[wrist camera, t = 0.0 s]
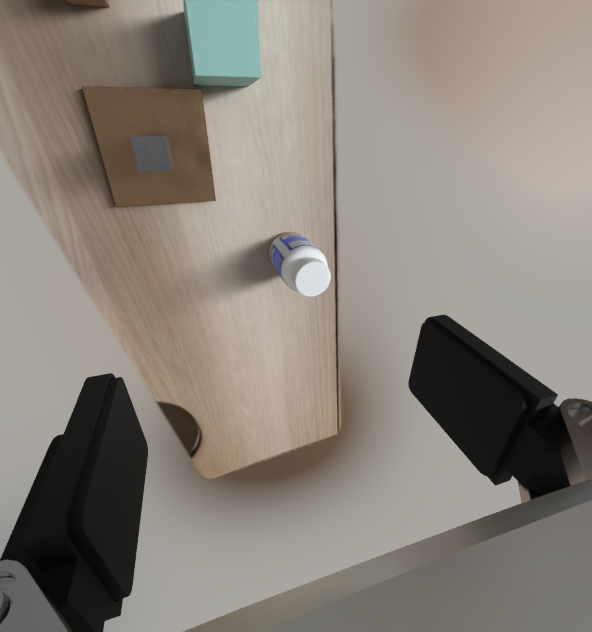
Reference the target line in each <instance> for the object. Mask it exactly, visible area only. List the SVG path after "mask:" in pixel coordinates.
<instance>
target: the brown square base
mask: <svg viewBox="0 0 592 632" xmlns="http://www.w3.org/2000/svg"><path fill="white" fill-rule="evenodd" d="M82 88H83V92H84V95H85V99H86V102H87V106H88V109H89V113H90V117H91V120H92V124H93V127H94V131H95V134H96V138H97V141H98V145H99V148H100V152H101V155H102V159H103V162H104V166H105V169H106V173H107V176H108V180H109V183H110V187H111V191H112V194H113V198H114V201H115V205H116V207H118V206H135V205H151V204H168V203H184V202H201V201H216V199H215V191H214V183H213V175H212V168H211V160H210V152H209V144H208V136H207V129H206V121H205V113H204V105H203V97H202V90H201V89H168V88H125V87H82Z"/></svg>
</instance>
